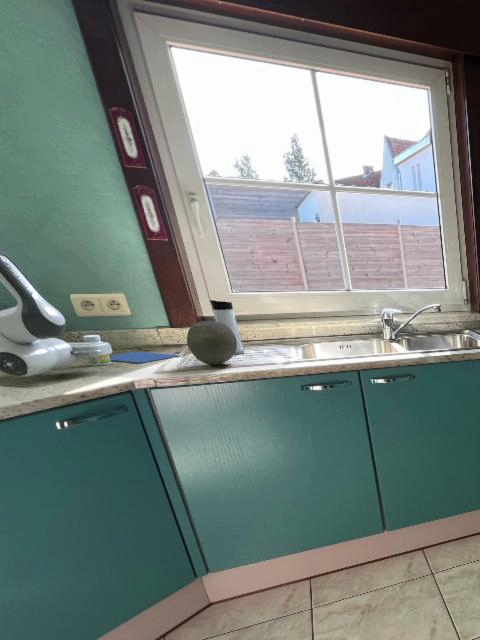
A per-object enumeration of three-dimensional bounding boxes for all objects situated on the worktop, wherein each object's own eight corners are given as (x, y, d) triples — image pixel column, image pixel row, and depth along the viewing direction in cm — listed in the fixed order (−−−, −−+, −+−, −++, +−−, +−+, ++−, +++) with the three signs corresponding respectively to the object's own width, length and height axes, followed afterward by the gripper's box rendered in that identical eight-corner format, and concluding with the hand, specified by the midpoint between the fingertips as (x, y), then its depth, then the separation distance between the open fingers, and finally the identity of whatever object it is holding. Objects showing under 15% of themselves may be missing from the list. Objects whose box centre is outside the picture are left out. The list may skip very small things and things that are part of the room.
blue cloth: (96, 359, 173) (95, 358, 173) (139, 352, 186) (139, 351, 186) (139, 363, 169) (138, 362, 169) (180, 356, 182) (180, 355, 182)
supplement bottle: (88, 366, 163) (78, 337, 160) (91, 363, 167) (81, 335, 164) (110, 365, 166) (100, 336, 163) (112, 362, 170) (103, 334, 167)
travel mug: (219, 354, 187) (205, 300, 180) (236, 351, 193) (223, 298, 185) (230, 355, 185) (216, 301, 178) (247, 353, 191) (235, 299, 183)
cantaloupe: (182, 368, 165) (168, 322, 159) (217, 359, 178) (206, 317, 172) (220, 370, 164) (208, 324, 158) (252, 362, 177) (242, 319, 171)
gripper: (90, 342, 150) (120, 335, 162) (7, 343, 145) (44, 336, 157) (98, 362, 152) (126, 354, 164) (16, 364, 147) (52, 355, 160)
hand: (85, 345), depth 161 cm, fingers open, 8 cm apart
